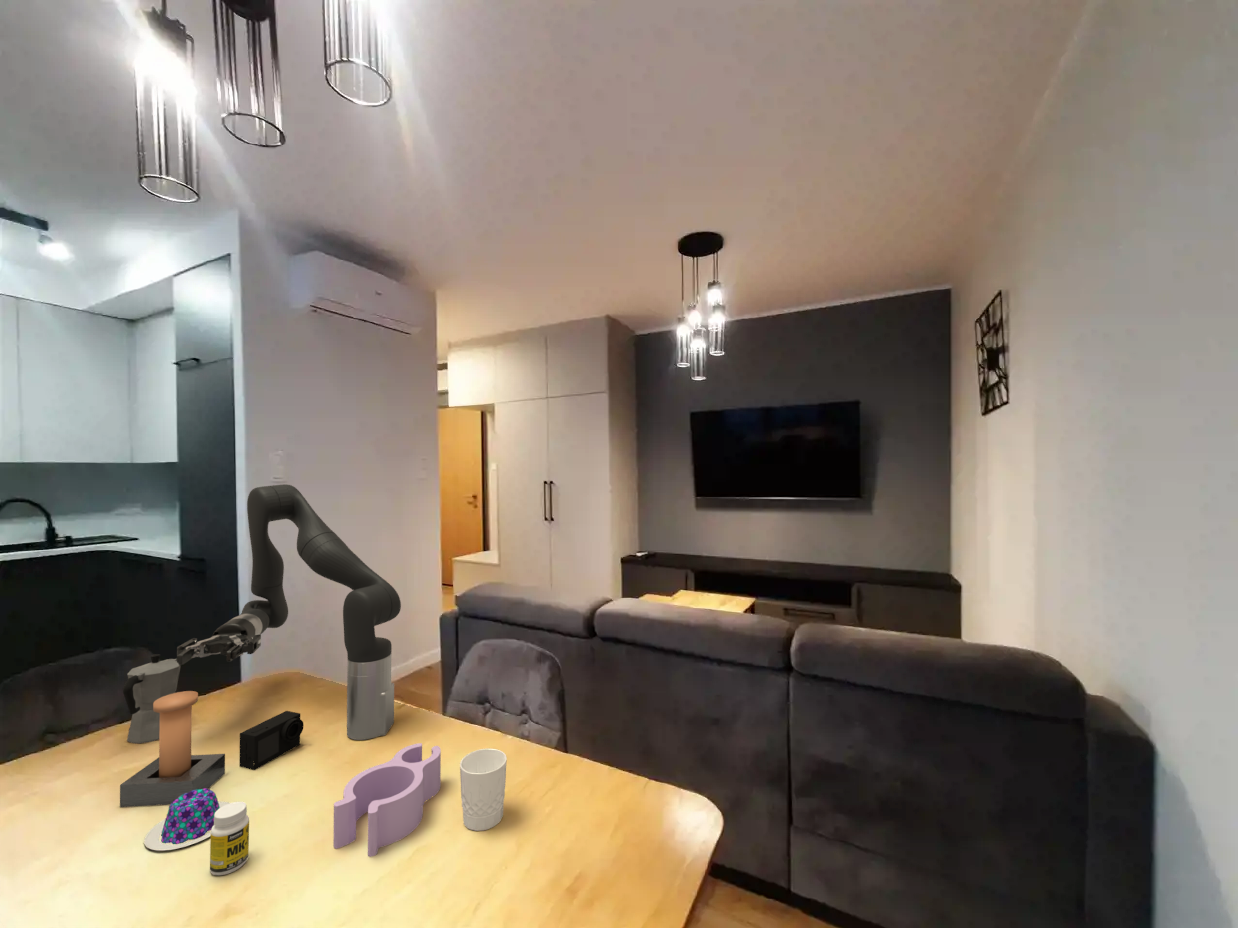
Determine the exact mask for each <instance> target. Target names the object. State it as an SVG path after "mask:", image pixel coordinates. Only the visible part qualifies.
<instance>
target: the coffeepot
mask: <svg viewBox="0 0 1238 928" xmlns="http://www.w3.org/2000/svg"><path fill="white" fill-rule="evenodd" d="M160 657H161V654H159V653H155V654H152V655H150V660H151V662H149V663H145V664H142V665H139V666H137V667H133V668H131V669H130V670H129V672H127V673H126V674H127V680H126V681H125V684H124V685H123V688H122V694H123V697H124V699H125V704H126V705H127V708H128V711H129V714H130V715H132V716H131V720H130V724H129V730H128V734H127V739H126V741H127V742H129V743H130V744H135V745H136V744H146V743H152V742H155V741H159V731H160V713H157V712H154V711H153V703H154V701H156V700H157V699H159V698H161V697H163V696H166V695H169V694H173V693H177V692H176V691H177V690H178V689H177V688H178V683H179V682H178V681H179V677H180V671H181V666H182V665H179V664H178V663H177V658H169V659H164V660H159V659H160Z"/></svg>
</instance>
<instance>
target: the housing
mask: <svg viewBox="0 0 1238 928" xmlns="http://www.w3.org/2000/svg"><path fill="white" fill-rule="evenodd" d="M225 774H226V753H212V754H211V753H210V754H209V753H208V754H191V769H190V770H188V771H187V772H186V773H185V774H183V775H182V776H181V777H166V778H159V757H157V758H156V759H154V760H153V761H152V762H151V763H149V764H147V765H146V766H144V767H143V768H141V770H138V772H136V773H135V774H133V775H132V776H131V777H129V778H128V779H127V780H125V781H123V782H121V784H120V785H119V808H130V807H131V808H132V807H150V806H151V807H152V806H166V805H169V806H170V805H171V803H172V802H173V801H174V800H176V799H177V798H178V797H179V796H181V795H183V794H185V793H189V792H190V791H193V790H196V789H200V790H201V789H204V788H207V789H210V788H211V787H213V785H214V784H215V783H216V782H218V781H219V780H220V779H221V778H222V777H223V776H224V775H225Z"/></svg>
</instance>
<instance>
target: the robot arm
mask: <svg viewBox="0 0 1238 928" xmlns="http://www.w3.org/2000/svg"><path fill="white" fill-rule="evenodd" d="M246 512H247V522H248V533H249V539H250V546H251V555H252V556H251V557H252V558H251V559H252V567H251V568H252V569H251V581H250V582H251V584H250V591H251V593H252V595H254V596H256V597H258V598H262V599H265V600H261V599H257V600H256V599H255V600H254V599H253V600H249V601H248V602H247V603H245V604H244V606H243V608H242V610H241V613H240V614H239V615H237V616H235V617H233V618H231V619H230V620H228V621H227V622H225V623H224V624H222V625H220V626H219V627H217V628H216V630H215V631H213V634H212V635H211V637H209V638H205V639H202V640H199V641H198V638H195V637H193V638H191V639H188V640H187V641H186V642H185V641H184V643H182V644H181V645H178V646H177V647H176V659H177V660H176V661H177V663H178V664H179V665H181V666H184V665H185V664H186V663H188V662H189V661H190V660H192V659H194V658H201V659H202V658H206V657H209V656H211V655H214V656H215V655H219V654H220V655H222V656H226V662H232V661H234V660H235V659H237V658H238V657H241V656H243V655H244V654H245V653H246V655H252V654H254V653H255V652H256V651H257V650H258V649H259V648H260V647H261V645H262V643H261V642H262V634H263V633H264V632H265V631H266V630H267V629H277V628H280V627H282V626H283V625H285V623H286V622H287V620H288V617H289V607H288V606H289V605H288V602H287V599H286V596H285V592H284V587H283V586H284V572H285V567H284V566H285V565H284V560H283V559H284V558H283V557H282V555H281V554H280V552H279V550H278V548H276V546H275V545H274V544H273V542H272V540H271V538H270V536H269V525H270V522H275V521H281V520H289V521H291V522H292V523H293V525H295V526H296V527H297V528H298V533H297V539H296V552H297V554H298V555H299V557H300V558H301V560H302V561H304V563H305V564H306V565H307V566H308V568H310V569H311V570H312V571H313V572H314V573H315V574H317V575H319V576H321V577H323V578H325V579H327V580H330V581H333V582H335V583H338V584H340V585H343V586H346V587H347V588H349V589H350V590H351V591H350V592H349V593H347V595H346V596H345V598H344V601H343V607H342V620H343V622H342V623H343V640H344V641H343V642H344V647H345V650H346V653H347V654H346V655H347V666H346V667H347V668H346V669H347V672H346V673H347V675H346V677H347V679H346V684H347V685H346V735H347V737H348V738H349V739H351V740H355V741H364V740H370V739H374V738H377V737H381V736H386V735H387V733H388V732H389V731H390V729H391V728H392V726H393V725H394V723H395V683H394V682H392V649H393V648H392V642H391V640H390V639H388V638H386V637H379V636H378V637H377V636H376V630H375V627H376V626H379V625H382V624H384V623H387V622H390V621H392V620H394V619H395V618H397V616H398V615H399V614H400V612H401V608H402V602H401V597H400V596H399V595H400V594H399V593H398V592H397V591H396V589H395V587H393V585H391V584H390V583H389V581H387V580H385V579H384V578H383V577H381V576H380V575H379V574H378V573H377V572H375V571H374V570H373V569H372V568H370V567H369V566H368V565H367V563H365V562H364V561H363V560H362V559H361V558H359V556H358V555H357V554H356V553H354V552H353V551H352V550H351V549H350V547H349V546H348V545H347V544H346V542H344V541H343V540H342V539H341V538H340V537H339V535H338V534H337V533H335V531H333V530H332V529H331V528H330V527H329V526H328V525H327V523H325V522H324V520H323V519H322V518H321V517H320V516H319V515H318V514H317V513H316V511H315V510H314V508H313V507H312V506H311V505H310V503H309V502H308V501H307V500H306V497H304V496H303V494H302V492H301V491H300V490H299V489H297V487H295V486H294V485H292V484H276V485H275V484H273V485H266V486H259V487H257V486H256V487H255V488H253V489H251V490H250V491H249V493H248V496H247V502H246Z"/></svg>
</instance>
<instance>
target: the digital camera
mask: <svg viewBox="0 0 1238 928" xmlns="http://www.w3.org/2000/svg"><path fill="white" fill-rule="evenodd" d="M304 727H305V726H304V721H303V720H302V719H301V713H300V712H296V711H295V712H294V711H291V710H285V711H283V712H281V713H279V714H277V715H274V716H272V717H270V718H269V719H266V720H264V721H262V722H260V723H258V724H255V725H254V726H251V727H250V728H248V729H246V730H244V731H242V732H240V733H239V764H238V765H239V767H240V768H244V769H247V770H250V771H256V770H257V769H260V768H261V767H263V766H265V765H267V764H269V763H271V762H272V761H274V760H275V759H277V758H279V757H281V756H283V755H284V754H286V753H288V752H289V751H292V750H293V749H295V748H297V747H298V746H300V745H301V734H302V733H303V730H304Z"/></svg>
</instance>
